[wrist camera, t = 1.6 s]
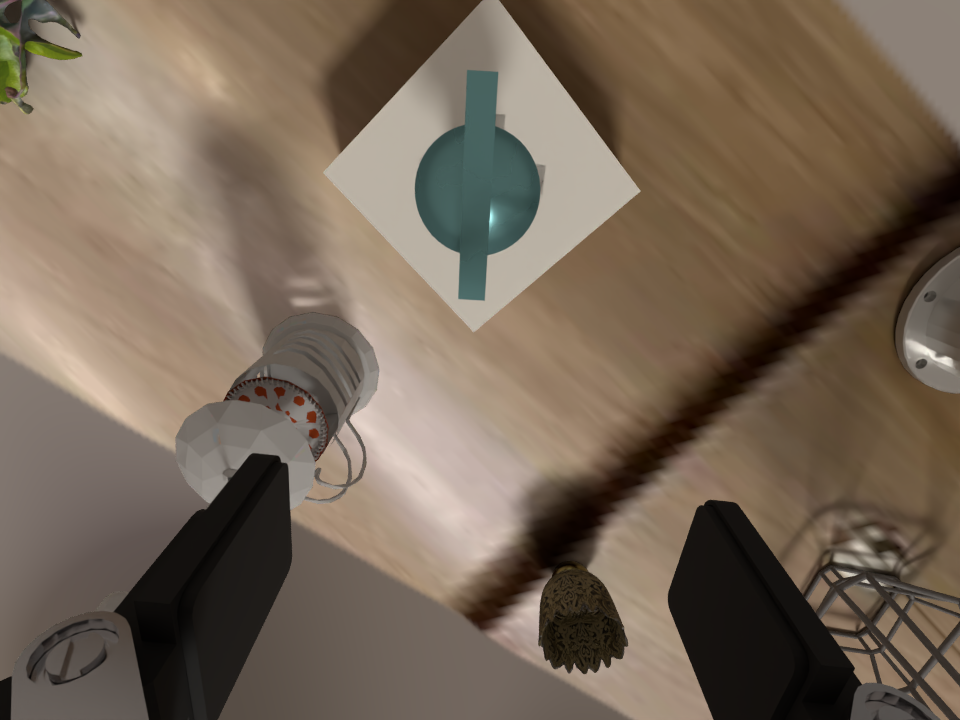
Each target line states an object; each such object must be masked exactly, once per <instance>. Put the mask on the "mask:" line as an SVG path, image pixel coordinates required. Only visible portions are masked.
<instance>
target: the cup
mask: <svg viewBox="0 0 960 720" xmlns="http://www.w3.org/2000/svg"><path fill="white" fill-rule="evenodd" d="M538 644H539V646H541V647H543V651H544V657H545V660H546V661H547V660H550V663H551V665H552V667H553V668H554V669H558V668H560V667H561V666H562V665H565V668H566V670H567V672H568V673H569V674H570V673H571V671H572V670H573V664H574V663H575V665H576V667H577V668H578V669H579V670H580V671H581V672H582V673H583V674H586V673H587V671H588V669H590V670H592V671H593V672H594V673H596V672H597V671H598V670H599V667H600V663H601V659H602V660H603V662H604V664H605V666H606V667H607V668H609V667H610V665H611V658H612V657H614V658H616V659H622V658H623V655H624V646H625V647H627V646H628V640H627V638H626V635H625V632H624V626H623V624H622V622H621V619H620V617H619V614H618V612H617V610H616V607H615V605H614V603H613V600H612V598H611V596H610V594H609V592H608V590H607V589H606V587H605V586H604V584H603V583H602V582H601V581H600V580H599V579H598V578H597V577H596V576H594V575H593V574H591V573H589V572H588V570H587V569H586V568H585V567H584V566H583V565H582V564H580V563H578V562H575V561H567V562H563V563H561V564H559V565H558V566H557V567H556V568H555V570H554V572H553V574H552V578H551V579H550V580H549V581H548V582H547V584H546V585H545V587H544V590H543V592H542V596H541V602H540V617H539V641H538Z"/></svg>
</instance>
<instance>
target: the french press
mask: <svg viewBox="0 0 960 720" xmlns="http://www.w3.org/2000/svg"><path fill="white" fill-rule="evenodd" d="M259 372H260V378H257V374H258V373H259ZM264 374H265V377H264ZM378 376H379V367H378V363H377V360H376V357H375V353H374V350H373V348H372V346H371V345H370V344H369V343H368V341H367V340H366V339H365V338H364V336H363V335H362V334H361V333H360V331H359V330H358V329H356V328H355V327H353V326H351V325H350V324H348V323H346V322H345V321H343V320H341V319H340V318H338V317H335V316H330V315H324V314H319V313H314V312H312V313H307V314H302V315H297V316H291V317H289V318H288V319H287V320H285V321H284V322H282V323H281V324H279V325H278V326H277V327H275V328H274V329H273V330H272V332H271V334H270V335H269V337H268V339H267V341H266V343H265V345H264V347H263V356H262V357H261V358H260V359H259V360H257V361H256V362H255V363H254V364H253V365H252V366H251V367H249V368H248V369H247V370H246V371H245V372H244V373H243V374H241V375H240V376H239V377H238V378H237V379H236V380H235V382H234V383H233V385H232V387H231V388H230V390H229V391H228V393H227V395H226V397H225V399H224V401H223V402H216V403H209V404H207V405H205V406H203V407H202V408H200V409H199V410H197V411H196V412H194V413H193V414H191V415H190V416H188V417H187V418H186V419H185V421H184V423H183V424H182V426H181V428H180V430H179V432H178V434H177V435H176V461H177V463H178V465H179V467H180V469H181V472H182V473H183V476H184V478H185V479H186V482H187V483H188V484H189V485H190V486H191V487H192V488H193V489H194V490H195V491H196V492H197V493H198V494H199V495H200V496H201V497H202V498H203V499H204V500H205V501H207V502H208V503H210V504H211V503H212V502H213V500H214V499H215V498H216V497H217V495H218V494H219V493H220V491H221V490H222V489H223V488H224V486H225V485H226V484H227V483H228V481H229V480H230V479H231V478H232V476H233V475H234V474H235V473H236V471H237V470H238V469H239V468H240V466H241V465H242V464H243V463H244V461H245V460H246V459H247V458H248V456H249V455H250V454H252V453H259V454H269V455H278V456H279V457H280V459H281V462H282V463H287V464H288V468H289V491H290V510H291V509H293V508H295V507H297V506H298V505H300V504H301V503H302V501H303V500H306V501H310V502H313V503H317V504H323V503H331V502H333V501H335V500H337V499H339V498H341V497H342V496H343V495H344V494H345V493H346V491H347V489H348V487H350V486H352V485H353V484H355V483H357V482H358V481H359V480H360V479H361V478H362V476H363V473H364V470H365V467H366V451H365V446H364V444H363V442H362V439H361V437H360V435H359V434H358V433H357V431H356V430H355V428H354V427H353V425H352V424H351V423H350V420H349V419H350V417H351V415H353V414H355V413H356V412H358V411H359V410H361V409H363V408H364V407H366V405H367V404H368V402H369V401H370V399H371V398H372V396H373V395H374V393H375V392H376V390H377V383H378ZM345 421H346V423H347V424H348V426H349V427H350V429H351V430H352V432H353V433H354V435H355V436H356V438H357V440H358V442H359V443H360V445H361V447H362V451H363V464H362V468H361V471H360V473H359V476H358V477H357V478H356V479H355V480H353V481H352V482H351V479H352V471H351V460H350V458H349V455H348V453H347V450H346V448H345V447H344V446H343V444H342V443H341V441H340V440H339V438H338V437H337V435H338V433H339V431H340V430H341V428H342V426H343V424H344V422H345ZM337 430H338V431H337ZM336 432H337V435H336ZM333 436H334V440H336V441H337V443H338V444H339V446H340V448H341V449H342V451H343V453H344V455H345V457H346V459H347V461H348V470H349V471H348V480H347V482H346V484H342V485H331V484H329V483H326V482H323V481H321V480H320V478H319V475H320V472H321V468H317V469H316V470H315V464H316V463H315V462H316V461H317V460H318V459H319V457H320V456H321V454H323V452H324V451H325V449H326V447H327V445H328V444H329V442H330V440H331V438H332V437H333ZM334 440H333V441H334ZM332 443H333V442H332ZM314 477H315V479H316V481H317V483H318V484H319V485H322V486H325V487H329V488H332V489H341V488H344V489H343V490H342V491H341V492H340V493H339V494H338V495H336V496H334V497H332V498H330V499H322V500H316V499H312V498H309V497H306V495H307V494H308V492H309V491H310V489H311V488H312V486H313V480H314ZM350 482H351V483H350ZM210 504H209V505H210ZM209 505H208V507H209ZM208 507H207V508H208ZM207 508H206V509H207ZM206 509H205V510H206ZM127 595H128V592H123V591H120V592H113V593H112V594H110V595H108V596H106V598H105V599H104V600H103V601H102V603H101V604H100V605H99V606H98V608H97V609H96V610H95V611H94V612H96V611H108V612H114V610H115V609H116V608H117V607H118V606H119V604H120V603H121V602H122V601H123V599H124V598H125V597H126V596H127Z"/></svg>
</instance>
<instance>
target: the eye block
mask: <svg viewBox="0 0 960 720" xmlns="http://www.w3.org/2000/svg"><path fill="white" fill-rule="evenodd" d="M467 70H476V71H493V72H498V87H497V104H496V121H495V126H496V127H499V128H501V129H504V130H506V131H507V132H509V133H511V134H512V135H514V136H515V137H516V138H517V139H518V140H520V141H521V143H522V144H523V145H524V146H525V147H526V148H527V150H528V151H529V153H530V154H531V156H532V158H533V160H534V162H535V164H536V167H537V170H538V174H539V178H540V201H539V206H538V210H537V213H536V216H535V218H534V220H533V222H532V224H531V226H530V227H529V229H528V230H527V231H526V233H525V234H524V235H523V236H522V237H521V238H520V239H519V240H518V241H517V242H516V243H514V244H513V245H512V246H510V247H508V248H507V249H505V250H503V251H500V252H498V253H495V254H491V255H488V256H487V272H486V289H485V301H481V300H464V299H458V290H459V264H460V253H458V252H455V251H453V250H451V249H449V248H447V247H445V246H444V245H442V244H441V243H440V242H438V241H437V240H436V239H435V238H434V237H433V236H432V235H431V233H430V232H429V231H428V230H427V228H426V227H425V225H424V223H423V222H422V219H421V217H420V215H419V212H418V209H417V205H416V200H415V179H416V174H417V170H418V167H419V164H420V162H421V160H422V158H423V156H424V154H425V152H426V151H427V149H428V148H429V147H430V146H431V145H432V143H433V142H434V141H435V140H436V139H438V138H439V137H440V136H441V135H443V134H444V133H446V132H447V131H449V130H451V129H453V128H456V127H459V126H462V125H465V108H466V82H467ZM323 173H324V174H325V175H326V176H327V177H328V179H329V180H330V181H331V182H332V183H333V184H334V185H335V186H336V187H337V188H338V189H339V190H340V191H341V192H342V193H343V194H344V195H345V197H346V198H347V199H348V200H349V201H350V202H351V203H352V204H353V205H354V206H355V207H356V208H357V209H358V210H359V211H360V212H361V213H362V214H363V216H364V217H365V218H366V219H367V220H368V221H369V222H370V223H371V224H372V225H373V226H374V227H375V228H376V229H377V230H378V231H379V232H380V234H381V235H382V236H383V237H384V238H385V239H386V240H387V241H388V242H389V243H390V244H391V245H392V246H393V247H394V248H395V249H396V250H397V251H398V253H399V254H400V255H401V256H402V257H403V258H404V259H405V260H406V261H407V262H408V263H409V264H410V265H411V266H412V267H413V268H414V269H415V271H416V272H417V273H418V274H419V275H420V276H421V277H422V278H423V279H424V280H425V281H426V282H427V283H428V284H429V285H430V286H431V287H432V289H433V290H434V291H435V292H436V293H437V294H438V295H439V296H440V297H441V298H442V299H443V300H444V301H445V302H446V303H447V304H448V305H449V306H450V308H451V309H452V310H453V311H454V312H455V313H456V314H457V315H458V316H459V317H460V318H461V319H462V320H463V321H464V322H465V323H466V324H467V326H468V327H469V328H470V329H471V330H472V331H473V332H475V331H476V330H477V329H478V328H479V327H481V326H482V325H483V324H484V323H485V322H487V321H488V320H489V319H490V318H491V317H492V316H494V315H495V314H496V313H497V312H498V311H500V310H501V309H502V308H503V307H504V306H505V305H507V304H508V303H509V302H510V301H511V300H513V299H514V298H515V297H516V296H517V295H518V294H520V293H521V292H522V291H523V290H524V289H525V288H527V287H528V286H529V285H530V284H531V283H533V282H534V281H535V280H536V279H537V278H538V277H540V276H541V275H542V274H543V273H544V272H546V271H547V270H548V269H549V268H550V267H551V266H553V265H554V264H555V263H556V262H557V261H559V260H560V259H561V258H562V257H563V256H564V255H566V254H567V253H568V252H569V251H570V250H572V249H573V248H574V247H575V246H576V245H577V244H579V243H580V242H581V241H582V240H583V239H585V238H586V237H587V236H588V235H589V234H590V233H592V232H593V231H594V230H595V229H596V228H598V227H599V226H600V225H601V224H602V223H603V222H605V221H606V220H607V219H608V218H609V217H611V216H612V215H613V214H614V213H615V212H616V211H618V210H619V209H620V208H621V207H622V206H624V205H625V204H626V203H627V202H628V201H629V200H631V199H632V198H633V197H634V196H635V195H637V194H638V193H639V192H640V190H639V189H638V187H637V186H636V184H635V183H634V182H633V180H632V179H631V178H630V176H629V175H628V174H627V172H626V171H625V170H624V168H623V167H622V166H621V164H620V163H619V162H618V160H617V159H616V157H615V156H614V155H613V153H612V152H611V151H610V149H609V148H608V147H607V145H606V144H605V143H604V141H603V140H602V139H601V137H600V136H599V135H598V133H597V132H596V130H595V129H594V128H593V126H592V125H591V124H590V122H589V121H588V120H587V118H586V117H585V116H584V114H583V113H582V112H581V110H580V109H579V108H578V106H577V105H576V103H575V102H574V101H573V99H572V98H571V97H570V95H569V94H568V93H567V91H566V90H565V89H564V87H563V86H562V85H561V83H560V82H559V81H558V79H557V78H556V76H555V75H554V74H553V72H552V71H551V70H550V68H549V67H548V66H547V64H546V63H545V62H544V60H543V59H542V58H541V56H540V55H539V54H538V52H537V51H536V49H535V48H534V47H533V45H532V44H531V43H530V41H529V40H528V39H527V37H526V36H525V35H524V33H523V32H522V31H521V29H520V28H519V27H518V25H517V24H516V22H515V21H514V20H513V18H512V17H511V16H510V14H509V13H508V12H507V10H506V9H505V8H504V6H503V5H502V4H501V2H500V1H499V0H482V1H481V2H480V4H479V5H478V6H477V7H476V8H475V9H474V10H473V11H472V12H471V13H470V14H469V15H468V16H467V18H466V19H465V20H464V21H463V22H462V23H461V24H460V25H459V26H458V27H457V28H456V29H455V31H454V32H453V33H452V34H451V35H450V36H449V37H448V38H447V39H446V40H445V41H444V42H443V43H442V45H441V46H440V47H439V48H438V49H437V50H436V51H435V52H434V53H433V54H432V55H431V56H430V58H429V59H428V60H427V61H426V62H425V63H424V64H423V65H422V66H421V67H420V68H419V69H418V70H417V72H416V73H415V74H414V75H413V76H412V77H411V78H410V79H409V80H408V81H407V82H406V83H405V85H404V86H403V87H402V88H401V89H400V90H399V91H398V92H397V93H396V94H395V95H394V96H393V97H392V99H391V100H390V101H389V102H388V103H387V104H386V105H385V106H384V107H383V108H382V109H381V110H380V112H379V113H378V114H377V115H376V116H375V117H374V118H373V119H372V120H371V121H370V122H369V123H368V124H367V126H366V127H365V128H364V129H363V130H362V131H361V132H360V133H359V134H358V135H357V136H356V137H355V139H354V140H353V141H352V142H351V143H350V144H349V145H348V146H347V147H346V148H345V149H344V150H343V151H342V153H341V154H340V155H339V156H338V157H337V158H336V159H335V160H334V161H333V162H332V163H331V164H330V165H329V167H328V168H327V169H326V170H325V171H324V172H323Z"/></svg>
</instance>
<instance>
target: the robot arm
mask: <svg viewBox="0 0 960 720" xmlns="http://www.w3.org/2000/svg"><path fill="white" fill-rule="evenodd" d="M895 345H896V349H897V353H898V357H899V359H900V361H901V363H902V365H903V366H904V368H905V369H906V370H907V371H908V372H909V373H910V374H911V375H912V376H913V377H914V378H916V379H917V380H919V381H920V382H922V383H924V384H926V385H928V386H930V387H932V388H934V389H936V390H939V391H944V392H948V393H957V394H960V247H959V248H957V249H955V250H954V251H953V252H951V253H950V254H948V255H947V256H945V257H944V258H942V259H941V260H939V261H938V262H937V263H936V264H935V265H934V266H933V267H932V268H930V269H929V270H928V271H927V272H926V273H925V274H924V275H923V277H922V278H921V279H920V280H919V281H918V282H917V284H916V285H915V286H914V287H913V289H912V291H911V292H910V294H909V295H908V297H907V299H906V300H905V302H904V304H903V307H902V309H901V312H900V314H899V316H898V321H897V326H896V331H895ZM291 542H292V541H291V516H290V491H289V468H288V464H287V463H282V462H281V459H280V457H279V456H278V455H269V454H259V453H252V454H250V455H249V456H248V458H247V459H246V460H245V461H244V463H243V464H242V465H241V466H240V468H239V469H238V470H237V471H236V473H235V474H234V475H233V476H232V478H231V479H230V480H229V481H228V483H227V484H226V485H225V486H224V488H223V489H222V490H221V491H220V493H219V494H218V495H217V497H216V498H215V499H214V500H213V502H212V503H211V504H210V505H209V507H208V508H207V509H206V510H204V509H201V510H199V511H197V512H196V513H195V514H194V515H193V516H192V517H191V518H190V519H189V520H188V522H187V523H186V524H185V525H184V526H183V528H182V529H181V530H180V531H179V533H178V534H177V535H176V536H175V537H174V539H173V540H172V541H171V542H170V543H169V545H168V546H167V547H166V548H165V550H164V551H163V552H162V553H161V555H160V556H159V557H158V558H157V559H156V561H155V562H154V563H153V564H152V565H151V567H150V568H149V569H148V570H147V571H146V573H145V574H144V575H143V576H142V578H141V579H140V580H139V581H138V582H137V584H136V585H135V586H134V587H133V589H132V590H131V591H130V592H129V593H128V595H127V596H126V597H125V598H124V599H123V601H122V602H121V603H120V604H119V606H118V607H117V608H116V609H115V610H114V612H108V611H96V612H87V613H84V614H80V615H77V616H74V617H70V618H69V619H66V620H64V621H62V622H60V623H58V624H55V625H54V626H52V627H51V628H49V629H48V630H46V631H45V632H43V633H42V634H40V635H39V636H38V637H37V638H35V640H33V641H32V642H31V643H30V644H29V645H28V646H27V647H26V648H25V649H24V650H23V652H22V653H21V655H20V656H19V658H18V660H17V661H16V663H15V666H14V670H13V674H12V676H11V677H8V678H6V679H4V680H2V681H0V720H217V719H218V718H219V716H220V713H221V711H222V709H223V707H224V705H225V703H226V701H227V699H228V697H229V695H230V692H231V691H232V689H233V687H234V684H235V682H236V680H237V678H238V676H239V674H240V672H241V670H242V668H243V666H244V664H245V662H246V659H247V657H248V655H249V653H250V651H251V649H252V647H253V645H254V643H255V641H256V639H257V637H258V634H259V632H260V630H261V628H262V626H263V624H264V622H265V620H266V618H267V616H268V614H269V612H270V609H271V607H272V605H273V603H274V601H275V599H276V597H277V595H278V593H279V591H280V589H281V587H282V584H283V582H284V580H285V578H286V576H287V574H288V572H289V569H290V566H291V561H292V543H291ZM668 605H669V609H670V612H671V614H672V617H673V619H674V622H675V624H676V627H677V629H678V632H679V634H680V637H681V639H682V642H683V644H684V647H685V649H686V652H687V654H688V657H689V659H690V662H691V664H692V667H693V669H694V672H695V674H696V677H697V679H698V682H699V684H700V687H701V689H702V692H703V694H704V697H705V699H706V702H707V704H708V707H709V709H710V712H711V714H712V717H713V719H714V720H940V719H939V718H938V717H937V716H936V715H935V714H934V713H933V712H931V711H930V710H929V709H928V708H927V707H926V706H924V705H923V704H922V703H920V702H919V701H917V700H916V699H914V698H913V697H911V696H909V695H908V694H906V693H904V692H902V691H900V690H898V689H896V688H893V687H891V686H887V685H884V684H880V683H865V684H863V685H862V684H861V682H860V681H859V679H858V678H857V677H856V675H855V674H854V672H853V671H854V669H855V667H854V666H853V665H852V663H851V662H850V661H849V659H848V658H847V656H846V655H845V654H844V652H843V651H842V649H841V648H840V647H839V645H838V644H837V642H836V641H835V640H834V638H833V637H832V635H831V634H830V633H829V631H828V630H827V628H826V627H825V626H824V624H823V623H822V621H821V620H820V619H819V617H818V616H817V614H816V613H815V612H814V610H813V609H812V607H811V606H810V605H809V603H808V602H807V600H806V599H805V598H804V596H803V595H802V593H801V592H800V591H799V589H798V588H797V586H796V585H795V584H794V582H793V581H792V579H791V578H790V577H789V575H788V574H787V572H786V571H785V570H784V568H783V567H782V565H781V564H780V563H779V561H778V560H777V558H776V557H775V556H774V554H773V553H772V551H771V550H770V549H769V547H768V546H767V544H766V543H765V542H764V540H763V539H762V537H761V536H760V535H759V533H758V532H757V530H756V529H755V528H754V526H753V525H752V523H751V522H750V521H749V519H748V518H747V517H746V515H745V514H744V512H743V511H742V510H741V508H740V507H739V506H738V505H737V504H736V503H734V502H727V501H717V500H708V501H707V502H706V503H705V504H704V506H703V505H701V506H699V507H698V508H697V510H696V513H695V516H694V519H693V521H692V524H691V527H690V530H689V533H688V536H687V539H686V542H685V545H684V548H683V551H682V554H681V557H680V560H679V563H678V565H677V568H676V571H675V574H674V577H673V580H672V583H671V586H670V589H669V593H668Z"/></svg>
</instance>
